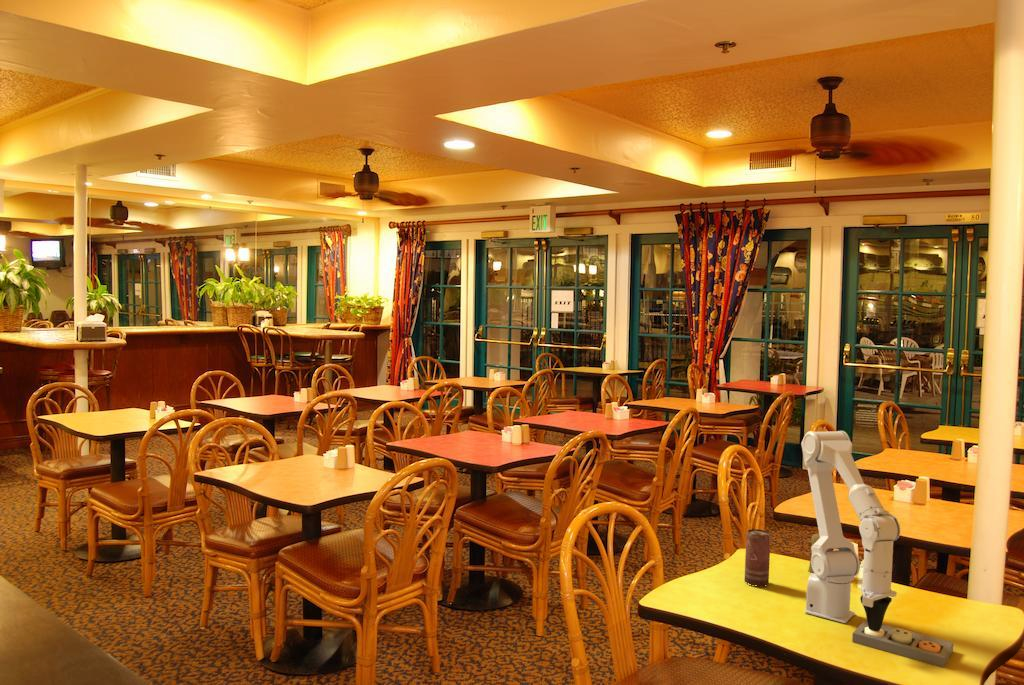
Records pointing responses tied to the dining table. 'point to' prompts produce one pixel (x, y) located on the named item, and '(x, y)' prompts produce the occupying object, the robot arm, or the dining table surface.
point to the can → (757, 557)
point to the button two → (901, 636)
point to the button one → (874, 632)
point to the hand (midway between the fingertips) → (874, 629)
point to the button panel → (903, 649)
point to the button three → (929, 646)
